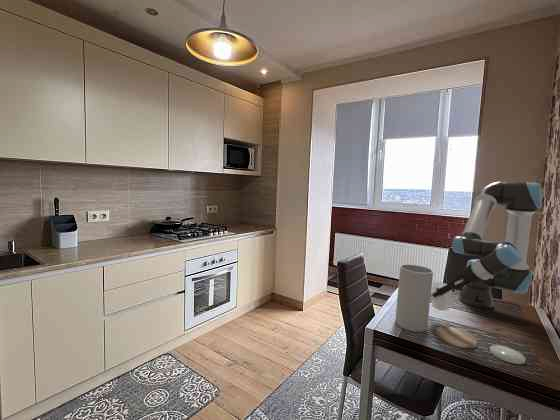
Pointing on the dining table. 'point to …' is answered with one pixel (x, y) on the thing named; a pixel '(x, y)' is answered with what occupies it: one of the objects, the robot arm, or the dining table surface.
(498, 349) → the sage coaster
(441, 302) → the white cup
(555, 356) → the dining table surface
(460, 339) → the birch trivet
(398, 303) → the cylinder vase
